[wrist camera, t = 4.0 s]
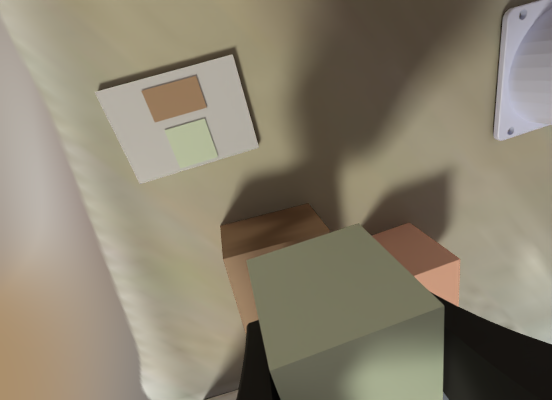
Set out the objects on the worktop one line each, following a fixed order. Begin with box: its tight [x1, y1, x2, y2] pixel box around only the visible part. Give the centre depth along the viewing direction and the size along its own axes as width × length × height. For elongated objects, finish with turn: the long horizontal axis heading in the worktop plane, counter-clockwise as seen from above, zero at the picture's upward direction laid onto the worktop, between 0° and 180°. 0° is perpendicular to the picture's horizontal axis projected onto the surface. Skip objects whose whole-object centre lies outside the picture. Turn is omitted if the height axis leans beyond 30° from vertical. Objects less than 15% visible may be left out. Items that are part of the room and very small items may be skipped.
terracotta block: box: [372, 222, 460, 307], centre depth 21 cm, size 5×5×5 cm
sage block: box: [246, 223, 444, 400], centre depth 11 cm, size 5×5×5 cm
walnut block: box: [220, 204, 330, 333], centre depth 19 cm, size 6×6×4 cm
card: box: [95, 54, 259, 184], centre depth 16 cm, size 7×5×1 cm
